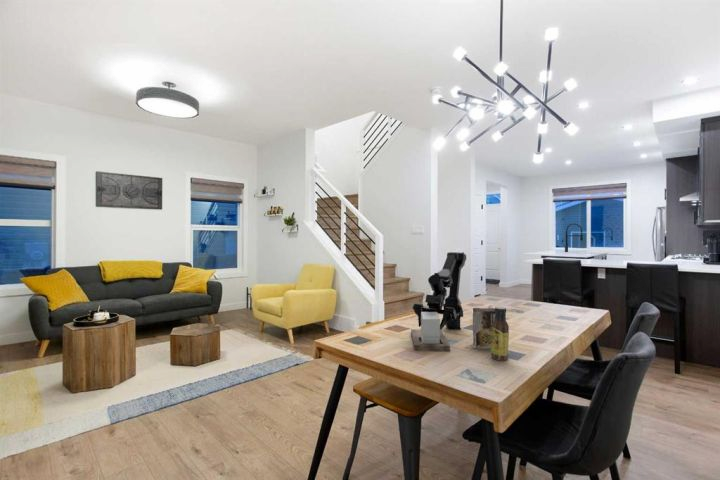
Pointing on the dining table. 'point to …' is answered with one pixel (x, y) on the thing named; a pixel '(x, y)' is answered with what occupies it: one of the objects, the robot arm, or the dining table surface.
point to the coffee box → (482, 327)
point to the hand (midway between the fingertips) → (429, 327)
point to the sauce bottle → (500, 335)
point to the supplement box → (430, 328)
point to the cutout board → (431, 347)
